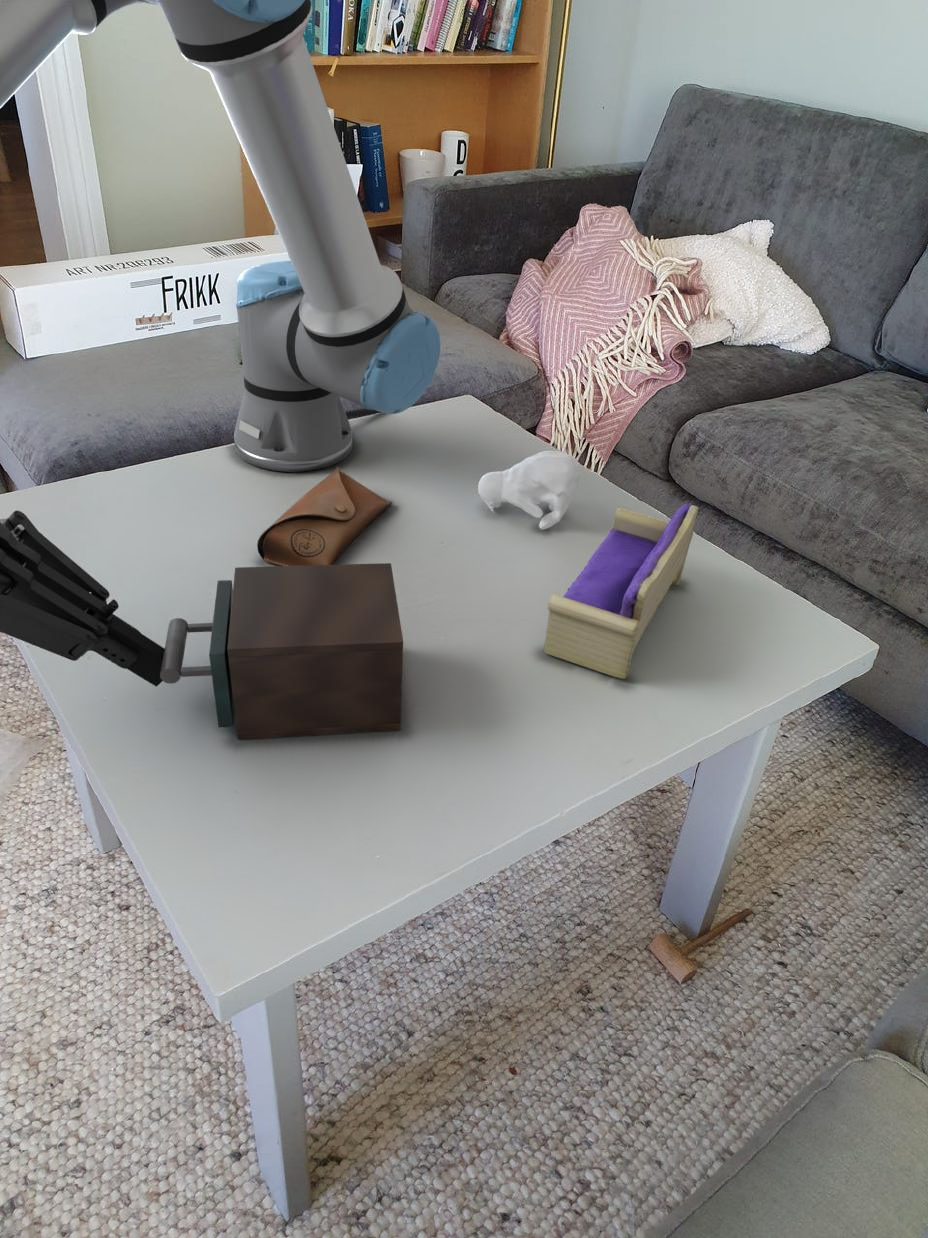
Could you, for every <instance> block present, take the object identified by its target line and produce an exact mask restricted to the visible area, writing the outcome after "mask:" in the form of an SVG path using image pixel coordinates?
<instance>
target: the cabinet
mask: <svg viewBox="0 0 928 1238" xmlns="http://www.w3.org/2000/svg"><path fill="white" fill-rule="evenodd" d="M395 586H396V585H395V580H394V574H393V568H392V563H391V562H385V563H379V562H378V563H354V564H353V563H350V564H349V563H348V564H333V565H308V566H277V565H273V566H243V567H239V566H238V567H234V574H233V583H232V587H233V595H232V606H231V617H230V628H229V639H228V657H229V666H230V675H231V684H232V693H233V702H234V710H235V711H234V720H235V729H236V736H237V737H236V738H237V740H256V739H271V738H274V739H275V738H289V737H290V738H292V737H307V736H310V737H311V736H327V735H342V734H343V735H344V734H359V733H362V734H363V733H380V732H381V733H382V732H397V731H401V729H402V704H403V703H402V700H403V699H402V698H403V671H404V670H403V667H404V663H403V662H404V638H403V631H402V624H401V619H400V612H399V605H398V599H397V593H396V587H395Z"/></svg>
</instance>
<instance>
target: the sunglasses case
mask: <svg viewBox="0 0 928 1238" xmlns="http://www.w3.org/2000/svg"><path fill="white" fill-rule="evenodd" d="M392 504H393V501H391V500H387V499H385V498H383V497H381V496H380V495H379V494H377V493H375V492H374V491H373V490H371V489H370V488H367V487H366V486H365V485H363V484H362V483H361V482H358V481H357V480H355V479H354V478H352V477H351V476H350V475H348V474H346V473H345V472H343V471H341V470H340V466H337V467H336V468H335V469H334V470H333V471H332V472H331V473H330V474H328V476H326V477H324V478H323V479H322V480H321V481H319V482H318V483H317V484H316V485H314V486H313V487H312V488H311V489H310V490H309V491H308V492H306V493H305V494H304V495H303V496H302V497H300V498H299V500H297V501H296V502H294V504H293V505H291V506H290V507H289V508H288V509H287V510H286V511H285V512H284V513H282V515H281V516H279V517H278V518H277V519H276V520H275V521H274V522H273V523H272V524H271V525H270V526H269V527H268V528H266V529H265V530H264V531H263V532H262V533H261V535H260V536H259V537H258V540H257V543H256V547H257V553H258V554H259V556H260V557H261V559H262V560H263V561H264V562H265V563H267V564H271V565H273V566H308V565H335V562H336V561H337V559H338V558H340V556H341V555H342V553H343V552H344V551H345V550H346V549H347V548H348V547H349V546H350V545H351V544H352V543H353V542H354V541H355V540H356V539H357V538H358V536H360V535H361V534H362V533H363V532H364V531H365V530H366V529H367V528H368V527H369V526H370V525H371V524H372V523H373V522H374V521H376V519H377V518H379V517H380V516H381V515H382V514H383V513H384V512H385V511H386V510H387V509H388V508H389V507H390V506H391V505H392Z"/></svg>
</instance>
